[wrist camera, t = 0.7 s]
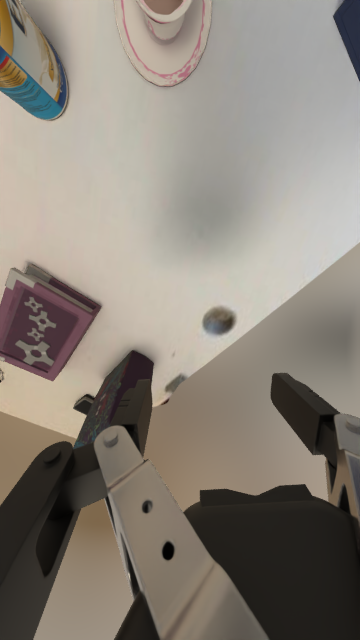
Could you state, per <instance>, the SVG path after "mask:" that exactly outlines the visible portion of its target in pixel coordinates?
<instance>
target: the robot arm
mask: <svg viewBox="0 0 360 640" xmlns="http://www.w3.org/2000/svg"><path fill="white" fill-rule="evenodd" d="M271 400H272V403H273V404H274V406H275V407H276V408H277V410H278V411H279V412H280V414H281V415H282V416H283V417H284V419H285V420H286V421H287V423H288V424H289V425H290V426H291V428H292V429H293V430H294V432H295V433H296V434H297V435H298V437H299V438H300V439H301V440H302V442H303V443H304V444H305V446H306V447H307V448H308V450H309V451H310V452H311V453H312V455H324V456H325V457H326V461H325V467H326V479H327V489H328V502H327V501H325V500H323V499H320V498H317V497H315V496H312V495H311V493H310V492H309V490H308V488H307V487H306V485H305V484H301V485H284V486H278V487H275V488H273V489H271V490H269V491H266V492H264V493H262V494H260V495H257V496H254V495H248V494H245V493H241V492H236V491H233V490H229V489H216V490H215V489H214V490H200V502H197V503H195V504H193V505H192V506H190V507H189V508H188V509H186V510H185V511H184V512H182V510H181V508H180V507H179V505H178V504H177V502H176V500H175V499H174V497H173V496H172V494H171V492H170V491H169V489H168V488H167V486H166V484H165V483H164V481H163V480H162V478H161V476H160V475H159V473H158V472H157V470H156V468H155V467H154V465H153V464H152V462H151V461H150V460H149V459H147V460H146V461H145V460H144V459H143V456H144V450H145V444H146V439H147V434H148V429H149V423H150V417H151V412H152V392H151V382H150V379H146V380H138V381H137V384H136V387H135V388H130V389H129V390H127V391H126V392H125V393H124V395H123V397H122V399H121V402H120V404H119V407H118V408H117V410H116V412H115V415H114V417H113V419H112V421H111V423H110V426H109V427H108V428H106V429H105V430H103V431H102V432H101V433H100V434H99V435H98V436H97V437H96V439H95V441H94V442H92V443H90V444H87V445H84V446H81V447H78V448H75V449H73V447H72V444H71V443H69V442H66V441H65V442H64V441H63V442H58V443H55V444H53V445H51V446H49V447H47V448H46V449H45V450H43V451H42V452H41V453H40V454H39V455H38V456H37V457H36V458H35V459H34V461H33V462H32V463H31V465H30V466H29V468H28V469H27V470H26V471H25V473H24V474H23V476H22V477H21V478H20V480H19V481H18V482H17V484H16V485H15V487H14V488H13V489H12V491H11V492H10V493H9V495H8V496H7V497H6V499H5V500H4V502H3V503H2V504H1V506H0V640H33V638H34V635H35V633H36V630H37V627H38V625H39V622H40V619H41V617H42V614H43V611H44V608H45V606H46V603H47V600H48V597H49V595H50V592H51V589H52V587H53V584H54V581H55V578H56V576H57V573H58V570H59V568H60V565H61V562H62V559H63V557H64V554H65V551H66V549H67V546H68V543H69V540H70V538H71V535H72V532H73V529H74V527H75V524H76V521H77V519H78V516H79V513H80V510H81V508H83V507H85V506H87V505H90V504H92V503H94V502H96V501H99V500H101V499H103V498H104V499H105V503H106V506H107V509H108V513H109V516H110V520H111V523H112V526H113V530H114V533H115V537H116V540H117V543H118V547H119V551H120V555H121V559H122V563H123V567H124V571H125V574H126V578H127V581H128V584H129V588H130V591H131V595H132V598H133V604H132V606H131V608H130V610H129V612H128V614H127V616H126V617H125V620H124V621H123V623H122V625H121V627H120V629H119V631H118V633H117V635H116V637H115V639H114V640H360V418H358V417H355V416H352V415H348V414H341V413H340V412H338V411H337V410H336V409H335V408H333V407H332V406H331V405H330V404H329V403H327V402H326V401H325V400H324V399H322V398H321V397H319V395H318V394H316V393H315V392H313V390H311V389H310V388H309V387H308V386H306V385H305V384H303V383H301V382H299V381H297V380H295V379H293V378H292V377H291V376H290V375H289V374H287V373H275V374H273V376H272V384H271Z"/></svg>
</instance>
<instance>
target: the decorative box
mask: <svg viewBox="0 0 360 640" xmlns="http://www.w3.org/2000/svg"><path fill="white" fill-rule="evenodd" d="M153 366H154V363H153V362H151V361H150V360H149V359H148V358H146V357H145V356H143V355H141V354H139V353H137V352H135V351H132V352H131V353H130V354H129V355H128V356H127V357H126V358H125V359H124V360H123V361H122V362H121V363H120V364H119V365H118V366H117V367H116V368H115V369H114V370H113V371H112V372H111V373H110V374H109V375H108V376H107V377H106V378H105V380H104V382H103V384H102V386H101V388H100V390H99V392H98V393H97V395H96V397H95V399H94V401H93V403H92V405H91V407H90V409H89V412H88V414H87V417H86V419H85V421H84V424H83V426H82V428H81V431H80V433H79V435H78V438H77V440H76V442H75V445H74V447H73V449H75V448H78V447H81V446H84V445H87V444H90V443H92V442H94V441H95V439H96V437H97V436H98V435H99V434H100V433H101V432H102V431H103V430H105V429H106V428H108V427H109V426H110V423H111V421H112V419H113V417H114V415H115V412H116V410H117V408H118V407H119V404H120V402H121V399H122V397H123V395H124V393H125V392H126V391H127V390H129V389H130V388H135V387H136V384H137V381H138V380H146V379H150V382H151V383H152V375H153Z"/></svg>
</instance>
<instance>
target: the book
mask: <svg viewBox="0 0 360 640" xmlns="http://www.w3.org/2000/svg"><path fill="white" fill-rule="evenodd" d="M5 286H6V288H5V291H4V295H3V298H2V301H1V304H0V360H1V361H3V362H4V361H5V362H7V363H10V364H12V365H15V366H17V367H19V368H22V369H24V370H27V371H29V372H31V373H34V374H36V375H39V376H41V377H43V378H46V379H48V380H51V381H54V379H55V378H56V377H57V376H58V374H59V373H60V372H61V370H62V369H63V368H64V366H65V365H66V363H67V361H68V360H69V358H70V357H71V355H72V353H73V352H74V350H75V349H76V347H77V345H78V344H79V342H80V341H81V339H82V338H83V336H84V334H85V333H86V331H87V330H88V328H89V326H90V325H91V323H92V322H93V320H94V318H95V317H96V315H97V314H98V312H99V310H100V309H101V306H99V305H98V304H96V303H94V302H93V301H91V300H89V299H88V298H86V297H84V296H83V295H81V294H79V293H78V292H76V291H74V290H73V289H71V288H69V287H68V286H66V285H64V284H63V283H61V282H59V281H58V280H56V279H55V278H53V277H52V276H51V275H49V274H47V273H46V272H44V271H42V270H41V269H39V268H37V267H36V266H34V265H33V264H32V265H29V266H28V269H27V272H26V274H25V273H23V272H21V271H20V270H18V269H16V268H11V269H10V271H9V274H8V278H7V281H6V284H5Z"/></svg>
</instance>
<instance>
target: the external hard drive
mask: <svg viewBox="0 0 360 640" xmlns="http://www.w3.org/2000/svg"><path fill="white" fill-rule="evenodd" d="M93 401H94V398H92V397H90V396H88V395H86V396H84V397H83V398H82V399H81V400H79V401H78V402H77V403H76V404H75V405H74V407H73V409H75V410H77V411H79V412H81V413H83V414H85V415H87V414H88V412H89V409H90V407H91V405H92V403H93Z"/></svg>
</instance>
